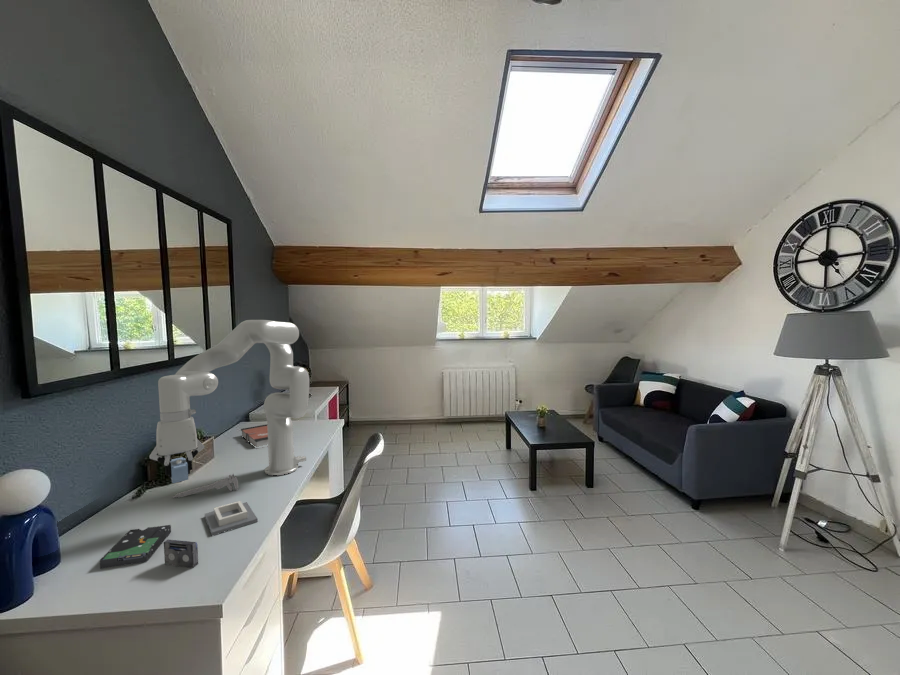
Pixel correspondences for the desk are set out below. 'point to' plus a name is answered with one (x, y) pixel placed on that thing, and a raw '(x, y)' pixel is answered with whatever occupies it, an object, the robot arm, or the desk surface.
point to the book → (256, 435)
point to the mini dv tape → (181, 553)
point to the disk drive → (136, 546)
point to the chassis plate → (230, 517)
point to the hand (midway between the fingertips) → (179, 473)
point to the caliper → (212, 486)
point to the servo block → (179, 470)
